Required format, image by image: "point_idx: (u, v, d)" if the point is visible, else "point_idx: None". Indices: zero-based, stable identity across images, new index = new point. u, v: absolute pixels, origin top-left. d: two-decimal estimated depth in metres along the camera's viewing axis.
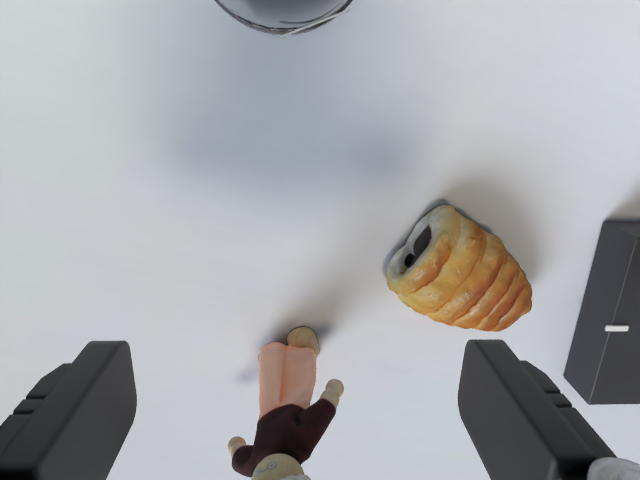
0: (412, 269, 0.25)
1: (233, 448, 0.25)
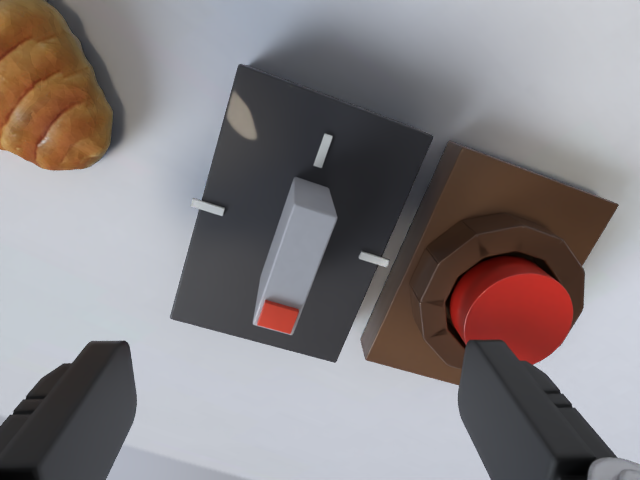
0: None
1: None
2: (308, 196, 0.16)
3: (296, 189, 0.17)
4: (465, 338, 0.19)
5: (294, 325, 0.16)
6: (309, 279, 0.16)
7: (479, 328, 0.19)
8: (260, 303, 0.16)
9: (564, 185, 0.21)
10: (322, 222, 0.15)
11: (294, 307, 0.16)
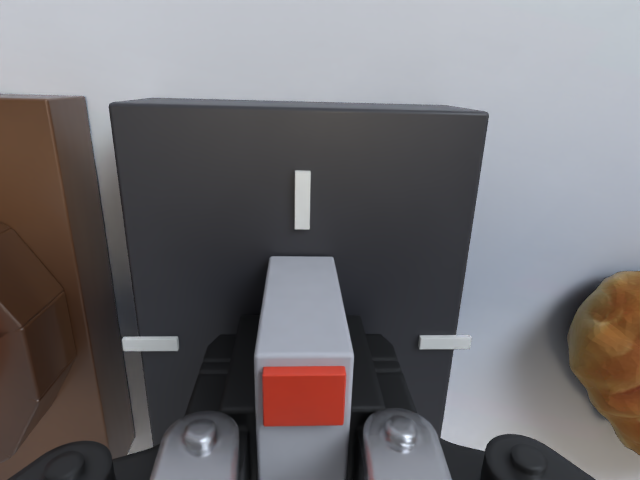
0: None
1: None
2: None
3: None
4: None
5: (259, 383, 0.07)
6: (266, 474, 0.08)
7: None
8: (349, 402, 0.07)
9: None
10: None
11: (274, 417, 0.07)
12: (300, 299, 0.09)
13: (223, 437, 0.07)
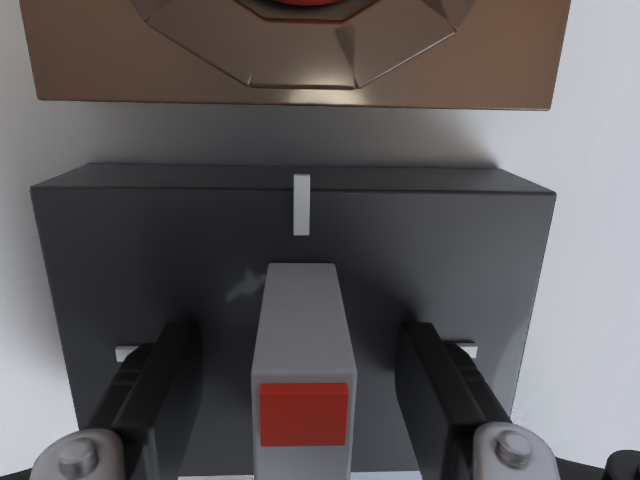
0: None
1: None
2: None
3: None
4: None
5: (257, 401, 0.07)
6: None
7: None
8: (351, 421, 0.07)
9: None
10: None
11: (272, 436, 0.07)
12: (300, 310, 0.08)
13: (102, 457, 0.06)
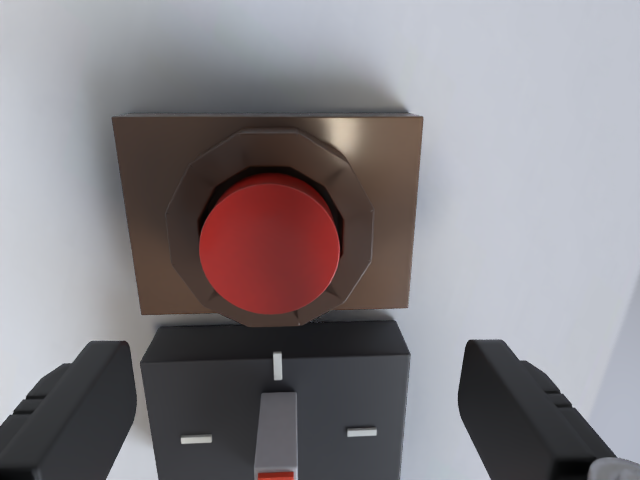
0: None
1: None
2: None
3: None
4: (310, 301, 0.16)
5: (256, 479, 0.16)
6: None
7: (292, 293, 0.16)
8: None
9: (124, 196, 0.18)
10: None
11: None
12: (276, 429, 0.18)
13: None
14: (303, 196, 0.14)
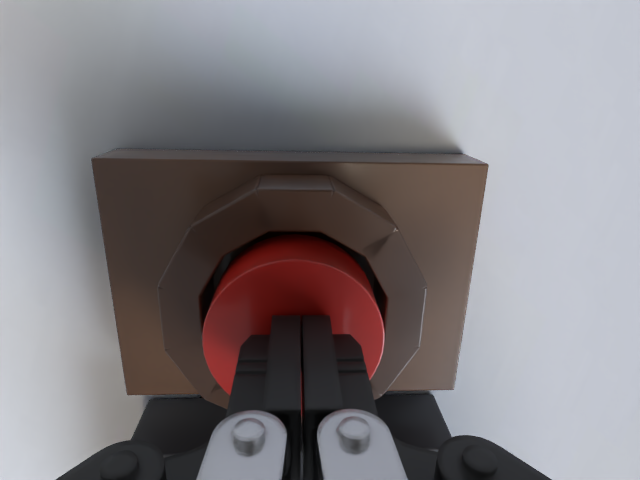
0: None
1: None
2: None
3: None
4: None
5: None
6: None
7: None
8: None
9: (107, 255, 0.14)
10: None
11: None
12: None
13: (271, 437, 0.07)
14: (341, 275, 0.11)
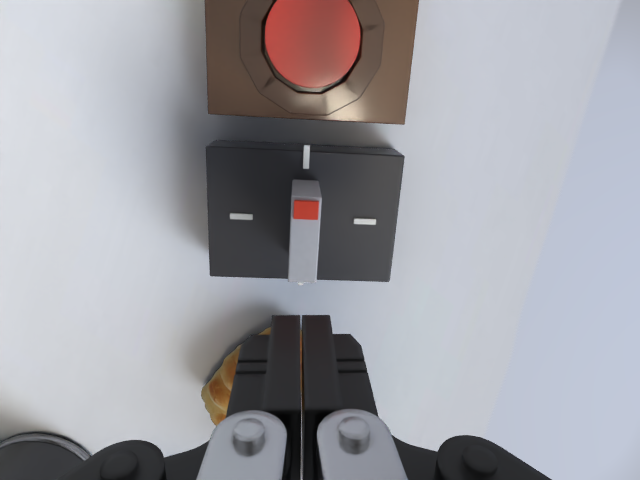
0: None
1: None
2: None
3: None
4: (337, 79, 0.23)
5: (292, 205, 0.23)
6: (292, 240, 0.24)
7: (325, 71, 0.23)
8: (320, 214, 0.23)
9: (206, 13, 0.25)
10: (296, 277, 0.24)
11: (296, 218, 0.23)
12: (305, 188, 0.25)
13: (271, 437, 0.07)
14: None
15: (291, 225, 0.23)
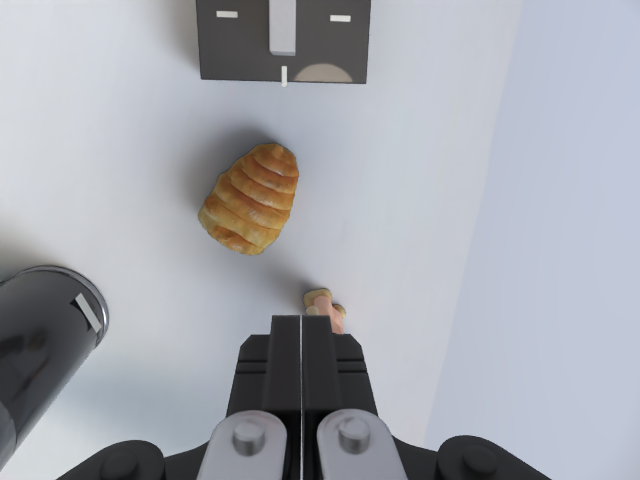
0: None
1: None
2: (286, 53, 0.29)
3: (293, 54, 0.29)
4: None
5: None
6: (271, 5, 0.26)
7: None
8: None
9: None
10: (276, 45, 0.27)
11: None
12: None
13: (271, 437, 0.07)
14: None
15: None
